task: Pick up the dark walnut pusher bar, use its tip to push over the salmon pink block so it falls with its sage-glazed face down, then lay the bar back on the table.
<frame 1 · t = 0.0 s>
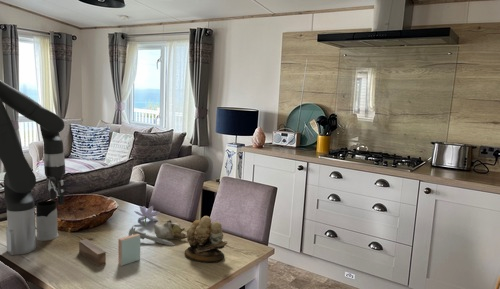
hand: (56, 201, 154), 17 cm above the table, fingers open, 8 cm apart
ceramic sculpture: (170, 238, 166), on the table
walnut pusher bar: (92, 258, 143), on the table
caliper: (151, 243, 160), on the table
glass holder: (41, 236, 161), on the table
owl figurine: (205, 256, 150), on the table
water lily: (148, 223, 183), on the table
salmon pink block: (129, 261, 142), on the table
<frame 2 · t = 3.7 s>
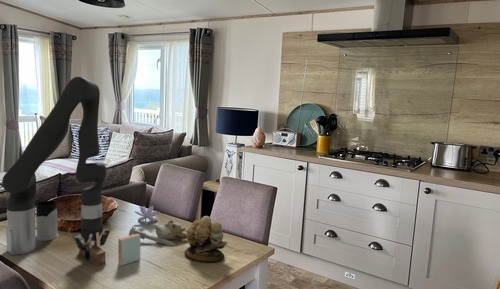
hand: (92, 257, 143), 0 cm above the table, fingers closed on walnut pusher bar, 3 cm apart
walnut pusher bar: (92, 258, 143), on the table, touching gripper
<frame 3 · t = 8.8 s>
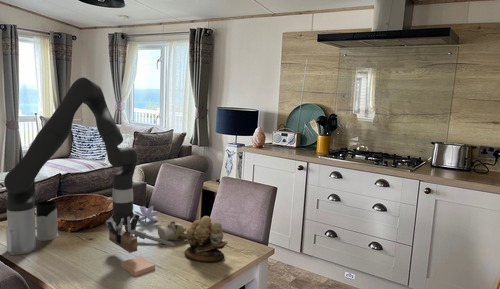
hand: (122, 241, 144), 6 cm above the table, fingers closed on walnut pusher bar, 3 cm apart
ceramic sculpture: (173, 240, 165), on the table
walnut pusher bar: (122, 245, 145), point 5 cm above the table, touching gripper
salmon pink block: (131, 261, 141), point 1 cm above the table, tilted 90°
everything else where it was.
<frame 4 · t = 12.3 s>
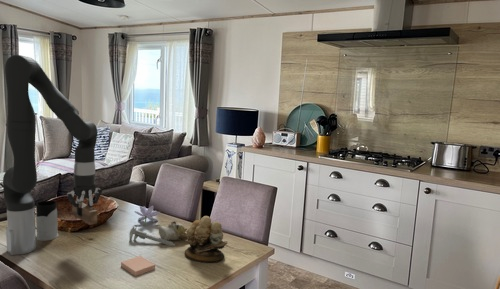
hand: (84, 215, 147), 15 cm above the table, fingers closed on walnut pusher bar, 3 cm apart
walnut pusher bar: (84, 218, 147), point 14 cm above the table, touching gripper
when the fingers open (2 cm above the table, at t = 15.1 s): walnut pusher bar stays where it is, on the table.
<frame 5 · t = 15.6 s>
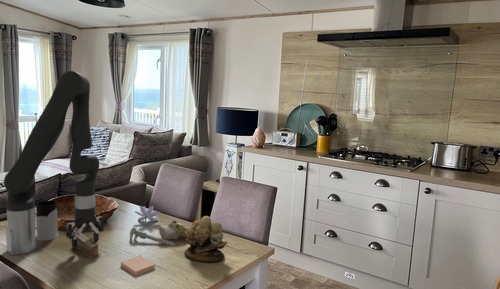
hand: (85, 244, 149), 2 cm above the table, fingers open, 7 cm apart
walnut pusher bar: (85, 251, 149), on the table
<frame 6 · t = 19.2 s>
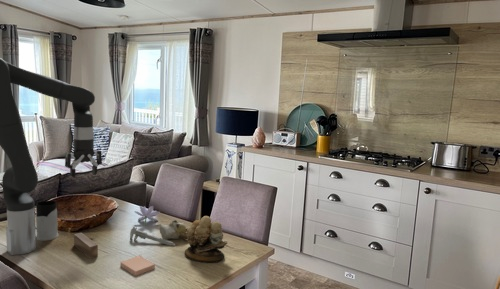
hand: (84, 176, 155), 28 cm above the table, fingers open, 8 cm apart
at the end: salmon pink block tilted 90°; the gripper is holding nothing; walnut pusher bar touching table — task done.
